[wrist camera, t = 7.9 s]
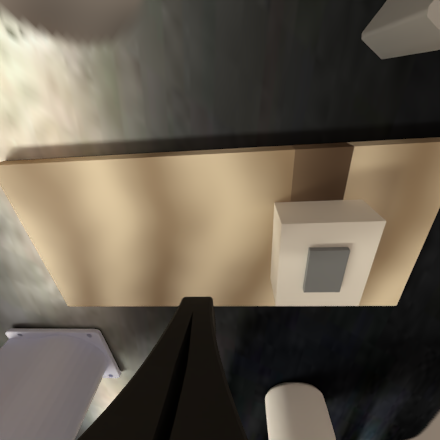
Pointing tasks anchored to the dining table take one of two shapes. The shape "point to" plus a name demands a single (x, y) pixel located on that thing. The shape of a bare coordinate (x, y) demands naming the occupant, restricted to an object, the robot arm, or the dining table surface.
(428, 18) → the lighter
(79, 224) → the board
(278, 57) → the dining table surface
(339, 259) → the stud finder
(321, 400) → the can
